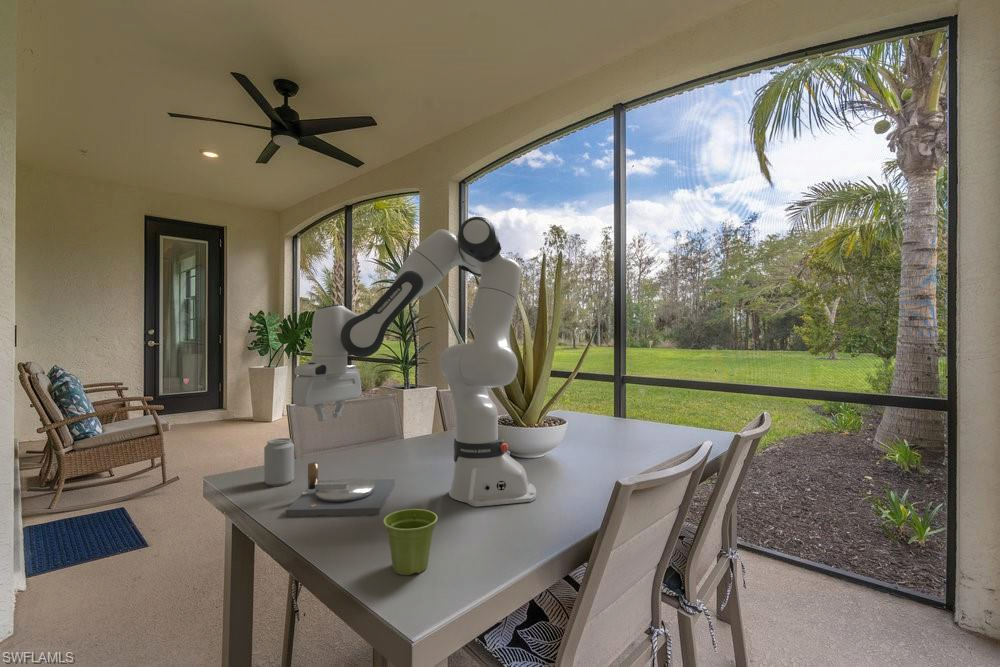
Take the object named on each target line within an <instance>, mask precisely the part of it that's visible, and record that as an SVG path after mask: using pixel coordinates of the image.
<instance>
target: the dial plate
mask: <svg viewBox="0 0 1000 667" xmlns="http://www.w3.org/2000/svg"><path fill="white" fill-rule="evenodd" d="M335 480H336V479H335ZM335 480H334V479H331V480H330V479H329V480H326V479H325V480H318V482H330V481H335ZM369 480H370V481H372V482H373V483H374V492H373V493H372V494H370V495H368V496H366V497H364V498H361V499H357V500H352V501H345V502H327V501H322V500H319V499H317V498H316V489H308V488H307V489H306V490H305V491H304V492H302V493H301V495H300V496H299V497H298V498H297V499H296V500H295V501H293V503H291V504H290V505H289V506H288V507H287V508H286V509H285V517H321V515H330V516H361V515H362V516H364V515H365V516H367V515H368V516H369V515H370V514H371V515H372V514H373V516H374V514H376V515H380V513H381V512H382V510H383V508H384V506H385V505H386V503H387V501H388V499H389V497H390V495H391V493H392V491H393V489H394V487H395V486H396V479H395V478H394V479H393V478H392V479H382V478H381V479H369ZM315 515H316V516H315ZM318 515H320V516H318ZM371 515H370V516H371Z"/></svg>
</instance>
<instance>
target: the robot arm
mask: <svg viewBox="0 0 1000 667" xmlns="http://www.w3.org/2000/svg"><path fill="white" fill-rule="evenodd" d="M499 237H500V236H499V234H498V231H497V229H496V227H495V226H494V223H492V221H490V220H489V219H487V218H485V217H483V216H472V217H469V218H467V219H466V220H465V221H463V222H462V223H461V225H460V227H459V229H458V232H457V235H455V233H453V232H452V231H450V230H447V229H444V228H443V229H437V230H435V231H434V232H432V233H431V234H430V235H429V236H427V237H426V238H425V239H424V240H423V241H421V242H420V244H418V245H417V246H416V247H415V249H414V250H413V251H411V253H410V254H409V255H408V256H407V258H406V259H405V260H404V262H403V263H402V265H401V267H400V268H399V270H398V272H397V274H396V276H395V278H394V279H393V282H392V283H391V285H390V286H389V288H388V289H387V290H386V291H385V292H384V293H383V294H382V295H381V296H380V298H379V299H377V301H376V302H375V303H374V304H373V305H372V306H370V308H369V309H368V310H366V311H365V312H363V313H362V314H359V313H356V312H354V311H352V310H350V309H348V308H347V307H346V306H344V305H343V304H330V305H326V306H325V305H324V306H321V307H319V308H317V309H316V310H315V311H314V313H313V316H312V321H311V322H312V323H311V341H312V345H313V349H312V352H311V359H310V360H308V361H306V362H304V363H301V364H299V365H297V366H295V367H294V375H295V376H296V377H295V379H294V380H293V387H292V402H293V404H294V405H295V406H296V407H303V408H305V407H310V406H313V409H314V410H315V413H316V414H317V421H318V422H325V421H327V420H328V413H325V412H324V409H323V408H324V407H325V404H328V403H335V405H336V406H335V409H334V410H332V411H331V412H332V416H331V417H332V418H333V419H334V418H335V419H340V418H342V411H343V409H344V407H345V404H346V400H352V399H358V398H361V395H362V381H361V380H362V379H361V375H360V369H359V367H358V366H356V365H355V364H350V365H348V354H350V355H352V356H354V357H358V358H366V357H370V356H372V355H374V354H375V353H377V352H378V351H379V349H381V346H382V345H383V341H384V338H385V336H386V332H387V330H388V329H389V327H390V326H391V324H393V322H394V321H395V320H396V319H397V317H399V315H400V314H401V313H402V312H403V311H404V310H405V308H406V307H408V305H410V304H412V302H413V301H415V300H416V299H418V298H420V297H422V296H425V295H426V294H428V293H429V292H430V291H432V290H434V288H436V286H437V285H439V283H440V282H441V281H442V280H443V279H444V278H445V277H446V276H447V275H448V274H449V273H450V271H451V270H452V269H454V268H455V267H457V266H458V268H459V270H462V271H465V272H467V273H469V274H472V275H473V276H476V277H478V278H480V281H479V283H478V286H477V290H476V294H475V296H474V298H473V299H474V300H473V303H472V306H471V309H470V313H469V320H470V322H471V324H472V326H473V328H474V335H473V336H474V338H473V341H472V343H465V342H464V343H458V344H454V345H450V346H448V347H447V348H445V349H444V350H443V351H442V353H441V354H440V356H439V357H440V358H439V362H438V365H439V370H440V372H441V374H442V375H443V377H444V378H445V380H446V381H447V384H448V386H449V387H448V388H449V390H450V393H451V397H452V400H453V406H454V413H455V414H454V420H455V423H454V424H455V438H453V439H454V441H453V443H452V444H453V446H452V447H453V453H452V454H453V455H452V456H453V461H454V467H453V475H452V481H451V484H450V485H451V486H450V489H449V491H448V492H449V493H448V496H449V497H451V499H454V500H456V501H459V502H462V503H466V504H469V505H470V506H471V507H486V506H488V507H489V506H499V505H507V504H509V505H510V504H518V503H519V504H521V503H531V502H534V500H535V499H536V498H537V489H536V487H535V485H534V484H532V483H531V482H529V481H528V476H527V472H526V470H525V468H524V466H523V465H522V464H521V463H519V462H518V461H517V460H516V459H514V458H513V457H511V456H510V455H509V454H507V452H508V451H509V445H508V443H506V441H505V440H504V439H503V438H502V439H501V438H500V437H499V410H498V408H497V405H496V403H494V402H493V399H491V396H490V395H489V391H488V388H489V389H491V388H492V389H494V388H501V387H506V386H508V385H510V384H511V383H513V381H514V380H515V378H516V376H517V374H518V369H519V361H518V357H517V356H516V354H515V352H514V351H513V349H512V346H511V340H510V339H511V338H510V337H511V336H510V333H511V332H510V331H511V324H512V319H513V315H514V313H515V309H516V304H517V301H518V297H519V292H520V286H521V279H522V269H521V267H520V264H519V262H517V261H516V260H514V259H512V258H510V257H508V256H504V255H503V254H502V252H501V251H502V245H501V242H500V238H499Z"/></svg>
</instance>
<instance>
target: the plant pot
mask: <svg viewBox="0 0 1000 667" xmlns="http://www.w3.org/2000/svg"><path fill="white" fill-rule="evenodd" d="M438 519H439V518H438V515H437V514H436V513H435V512H433V511H432V510H427V509H422V508H410V509H408V508H407V509H402V510H397V511H393V512H391V513H389V514H387V515H386V516H385V517H384V518H383V525H384V526H385V529H386V533H387V534H388V540H389V546H390V547H389V548H390V549H389V550H390V556H391V562H392V564H391V565H392V569H393V571H394V572H395V573H396V574H399V575H403V576H410V575H412V574H414V573H418V574H420V573H422V572H424V571H425V570H426V569H427V568H428V566H429V558H430V552H431V547H432V546H431V545H432V539H433V532H434V530H435V525H436V523H437V522H438Z"/></svg>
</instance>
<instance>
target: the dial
mask: <svg viewBox="0 0 1000 667" xmlns="http://www.w3.org/2000/svg"><path fill="white" fill-rule="evenodd" d="M370 480H371V479H365V478H357V477H354V478H343V479H342V478H341V479H335V481H330V482H318V481H319V462H316V461H315V462H313V461H312V462H308V464H307V490H308V489H316V498H317V499H319V500H322V501H327V502H345V501H352V500H357V499H361V498H364V497H366V496H368V495H370V494H372V493H373V492H374V483H373V482H372V481H370Z"/></svg>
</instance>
